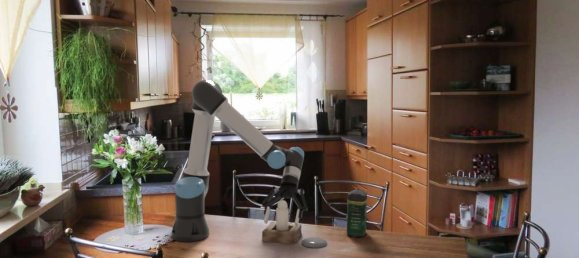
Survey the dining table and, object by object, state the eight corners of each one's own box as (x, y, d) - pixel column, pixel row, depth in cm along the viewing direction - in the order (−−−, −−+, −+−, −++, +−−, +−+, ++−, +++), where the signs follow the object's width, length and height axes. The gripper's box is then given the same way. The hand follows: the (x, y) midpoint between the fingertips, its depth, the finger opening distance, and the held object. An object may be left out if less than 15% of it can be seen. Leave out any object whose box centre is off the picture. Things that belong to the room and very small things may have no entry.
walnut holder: (262, 241, 165) (262, 231, 165) (272, 230, 178) (272, 221, 177) (293, 244, 162) (293, 234, 162) (301, 233, 174) (301, 224, 174)
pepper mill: (274, 238, 168) (274, 201, 167) (278, 234, 173) (278, 198, 172) (286, 239, 167) (286, 202, 165) (289, 235, 172) (290, 199, 170)
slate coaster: (298, 246, 160) (298, 244, 160) (304, 237, 169) (304, 236, 169) (324, 249, 157) (324, 247, 157) (328, 240, 167) (328, 238, 167)
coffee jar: (364, 238, 169) (365, 194, 167) (345, 236, 172) (345, 192, 170) (367, 231, 178) (368, 188, 176) (349, 229, 181) (350, 187, 179)
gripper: (319, 185, 180) (311, 230, 167) (266, 181, 186) (254, 225, 173) (317, 175, 174) (308, 221, 161) (262, 172, 181) (250, 216, 167)
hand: (280, 223), depth 167 cm, fingers open, 12 cm apart
